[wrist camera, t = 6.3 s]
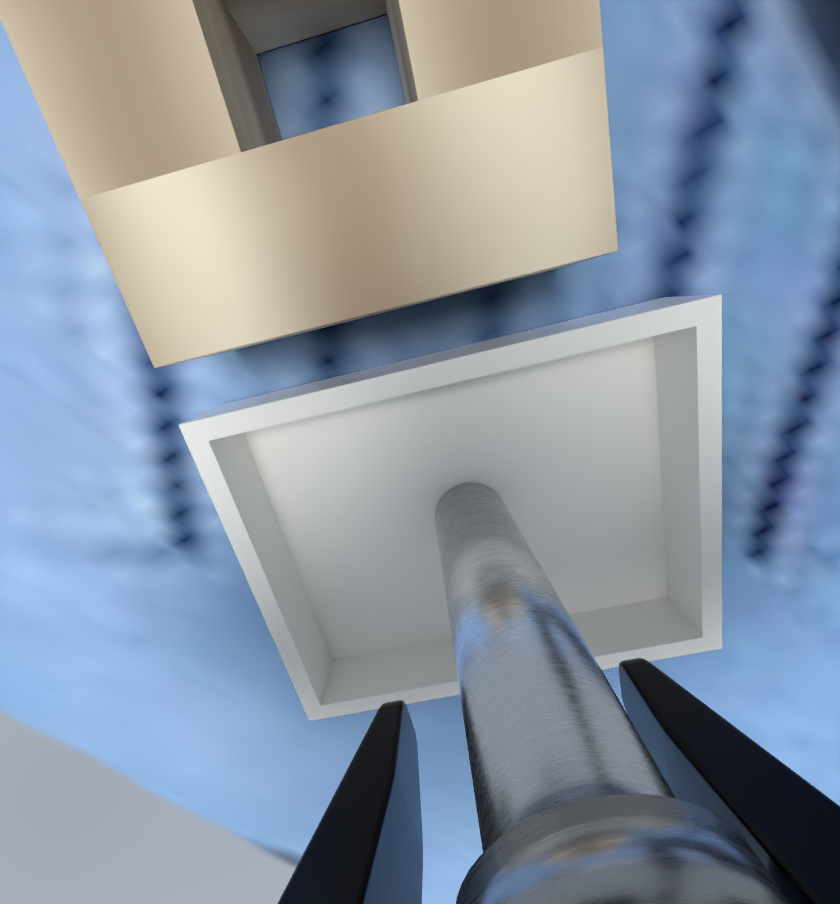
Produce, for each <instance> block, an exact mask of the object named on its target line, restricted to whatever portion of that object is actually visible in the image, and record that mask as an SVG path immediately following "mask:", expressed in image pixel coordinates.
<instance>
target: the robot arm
mask: <svg viewBox="0 0 840 904" xmlns="http://www.w3.org/2000/svg"><path fill="white" fill-rule="evenodd" d="M619 675H620V684H621V694H622V699H623V703H624V706H625V709H626V711H627V714H628V716H629V718H630V720H631V722H632V723H633V725H634V727H635V729H636V730H637V732H638V734H639V735H640V737H641V739H642V741H643V742H644V744H645V746H646V747H647V749H648V751H649V753H650V754H651V756H652V758H653V759H654V761H655V763H656V765H657V766H658V768H659V770H660V771H661V773H662V775H663V777H664V778H665V780H666V782H667V783H668V785H669V787H670V789H671V790H672V792H673V794H674V795H675V797H676V799H680V800H684V801H687V802H691V803H694V804H696V805H699V806H701V807H704V808H706V809H709V810H711V811H712V812H714V813H716V814H717V815H719V816H721V817H723V818H724V819H726V820H727V821H728V822H729V823H730V824H732V825H733V826H734V827H735V828H737V830H738V831H739V832H740V833H741V834H742V835H743V836H744V838H745V839H746V840H747V841H748V843H749V844H750V846H751V847H752V849H753V850H754V852H755V853H756V855H757V856H758V858H759V859H760V861H761V862H762V864H763V865H764V866H765V868H766V869H767V871H768V872H769V874H770V875H771V877H772V878H773V880H774V881H775V883H776V884H777V886H778V887H779V889H780V890H781V892H782V893H783V895H784V896H785V898H786V899H787V901H788V902H789V904H840V806H839V805H837V804H836V803H835V802H833V801H832V800H831V799H830V798H828V797H827V796H826V795H824V794H823V793H822V792H820V791H819V790H818V789H816V788H815V787H814V786H812V785H811V784H810V783H808V782H807V781H806V780H804V779H803V778H802V777H800V776H799V775H798V774H796V773H795V772H794V771H792V770H791V769H790V768H789V767H787V766H786V765H785V764H783V763H782V762H781V761H779V760H778V759H777V758H775V757H774V756H773V755H771V754H770V753H769V752H767V751H766V750H765V749H763V748H762V747H761V746H759V745H758V744H757V743H755V742H754V741H753V740H752V739H750V738H749V737H748V736H746V735H745V734H744V733H742V732H741V731H740V730H738V729H737V728H736V727H734V726H733V725H732V724H730V723H729V722H728V721H726V720H725V719H724V718H722V717H721V716H720V715H718V714H717V713H716V712H714V711H713V710H712V709H711V708H709V707H708V706H707V705H705V704H704V703H703V702H701V701H700V700H699V699H697V698H696V697H695V696H693V695H692V694H691V693H689V692H688V691H687V690H685V689H684V688H683V687H681V686H680V685H679V684H677V683H676V682H675V681H673V680H672V679H671V678H670V677H668V676H667V675H666V674H664V673H663V672H662V671H660V670H659V669H658V668H656V667H655V666H654V665H652V664H651V663H650V662H648V661H647V660H645V659H643V658H635V659H629V660H624V661H621V662H620V663H619ZM422 873H423V842H422V820H421V803H420V786H419V770H418V753H417V740H416V734H415V730H414V727H413V724H412V721H411V718H410V715H409V712H408V709H407V706H406V704H405V702H404V701H402V700H397V701H392V702H386V703H383V704H382V705H381V706H380V708H379V710H378V712H377V714H376V716H375V717H374V719H373V721H372V723H371V725H370V727H369V729H368V731H367V733H366V735H365V737H364V739H363V741H362V742H361V744H360V746H359V748H358V750H357V752H356V754H355V756H354V758H353V760H352V762H351V764H350V766H349V767H348V769H347V771H346V773H345V775H344V777H343V779H342V781H341V783H340V785H339V787H338V789H337V791H336V792H335V794H334V796H333V798H332V800H331V802H330V804H329V806H328V808H327V810H326V812H325V814H324V815H323V817H322V819H321V821H320V823H319V825H318V827H317V829H316V831H315V833H314V835H313V837H312V839H311V840H310V842H309V844H308V846H307V848H306V850H305V852H304V854H303V856H302V858H301V860H300V862H299V864H298V865H297V867H296V869H295V871H294V873H293V875H292V877H291V879H290V881H289V883H288V885H287V887H286V889H285V890H284V892H283V894H282V896H281V898H280V900H279V902H278V904H422Z"/></svg>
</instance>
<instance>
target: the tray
mask: <svg viewBox="0 0 840 904" xmlns="http://www.w3.org/2000/svg"><path fill="white" fill-rule="evenodd" d="M179 427H180V429H181V432H182V434H183V436H184V438H185V441H186V443H187V445H188V447H189V450H190V452H191V454H192V456H193V459H194V461H195V463H196V466H197V468H198V470H199V472H200V475H201V477H202V479H203V481H204V484H205V486H206V488H207V490H208V493H209V495H210V497H211V500H212V502H213V504H214V506H215V509H216V511H217V513H218V515H219V518H220V520H221V522H222V524H223V527H224V529H225V531H226V533H227V536H228V538H229V540H230V543H231V545H232V547H233V549H234V552H235V554H236V556H237V558H238V561H239V563H240V565H241V567H242V570H243V572H244V574H245V577H246V579H247V581H248V583H249V586H250V588H251V590H252V592H253V595H254V597H255V599H256V601H257V604H258V606H259V608H260V610H261V613H262V615H263V617H264V620H265V622H266V624H267V626H268V629H269V631H270V633H271V635H272V638H273V640H274V642H275V644H276V647H277V649H278V651H279V653H280V656H281V658H282V660H283V663H284V665H285V667H286V669H287V672H288V674H289V676H290V678H291V681H292V683H293V685H294V687H295V690H296V692H297V694H298V697H299V699H300V701H301V703H302V706H303V708H304V710H305V712H306V715H307V717H308V719H309V721H313V720H319V719H325V718H330V717H336V716H342V715H347V714H353V713H359V712H364V711H370V710H376V709H379V708H380V706H381V705H382V704H383V703H386V702H392V701H397V700H402V701H404V702H405V704H410V703H416V702H421V701H427V700H433V699H438V698H444V697H450V696H456V695H460V690H459V683H458V676H457V669H456V662H455V655H454V648H453V642H452V635H451V628H450V621H449V614H448V607H447V600H446V593H445V587H444V580H443V573H442V566H441V559H440V552H439V545H438V538H437V532H436V525H435V510H436V506H437V504H438V502H439V500H440V498H441V497H442V496H443V495H444V494H445V493H446V492H447V491H448V490H449V489H451V488H452V487H454V486H456V485H459V484H462V483H468V482H475V483H481V484H484V485H487V486H489V487H490V488H492V489H493V490H495V491H496V492H497V493H498V495H499V496H500V497H501V499H502V500H503V502H504V504H505V506H506V507H507V509H508V511H509V512H510V514H511V516H512V518H513V519H514V521H515V523H516V524H517V526H518V528H519V530H520V531H521V533H522V535H523V536H524V538H525V540H526V542H527V543H528V545H529V547H530V548H531V550H532V552H533V554H534V555H535V557H536V559H537V560H538V562H539V564H540V566H541V567H542V569H543V571H544V573H545V574H546V576H547V578H548V579H549V581H550V583H551V585H552V586H553V588H554V590H555V591H556V593H557V595H558V597H559V598H560V600H561V602H562V603H563V605H564V607H565V609H566V610H567V612H568V614H569V615H570V617H571V619H572V621H573V622H574V624H575V626H576V627H577V629H578V631H579V633H580V634H581V636H582V638H583V639H584V641H585V643H586V645H587V646H588V648H589V650H590V651H591V653H592V655H593V657H594V658H595V660H596V662H597V663H598V665H599V667H600V669H601V670H604V669H609V668H615V667H619V663H620V662H621V661H624V660H629V659H635V658H643V659H645V660H647V661H648V662H649V661H655V660H661V659H666V658H672V657H678V656H683V655H689V654H695V653H700V652H706V651H712V650H717V649H722V294H718V295H698V296H678V297H663V298H658V299H654V300H650V301H646V302H642V303H638V304H634V305H630V306H625V307H621V308H617V309H613V310H609V311H605V312H601V313H597V314H592V315H588V316H584V317H580V318H576V319H572V320H568V321H564V322H559V323H555V324H551V325H547V326H543V327H539V328H535V329H531V330H526V331H522V332H518V333H514V334H510V335H506V336H502V337H498V338H493V339H489V340H485V341H481V342H477V343H473V344H469V345H465V346H460V347H456V348H452V349H448V350H444V351H440V352H436V353H432V354H427V355H423V356H419V357H415V358H411V359H407V360H403V361H398V362H394V363H390V364H386V365H382V366H378V367H374V368H370V369H365V370H361V371H357V372H353V373H349V374H345V375H341V376H337V377H332V378H328V379H324V380H320V381H316V382H312V383H308V384H304V385H299V386H295V387H291V388H287V389H283V390H279V391H275V392H271V393H266V394H262V395H258V396H254V397H250V398H246V399H242V400H238V401H233V402H229V403H225V404H221V405H219V406H217V407H215V408H213V409H211V410H209V411H207V412H204V413H202V414H200V415H198V416H196V417H194V418H192V419H190V420H188V421H186V422H183V423H181V424H179Z"/></svg>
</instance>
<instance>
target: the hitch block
mask: <svg viewBox="0 0 840 904" xmlns="http://www.w3.org/2000/svg"><path fill="white" fill-rule="evenodd" d="M384 14H387V15H388V20H389V25H390V30H391V35H392V40H393V44H394V49H395V54H396V59H397V64H398V69H399V74H400V79H401V84H402V89H403V93H404V98H405V103H406V104H405V105H402V106H398V107H395V108H392V109H388V110H385V111H381V112H378V113H374V114H371V115H368V116H364V117H361V118H357V119H354V120H350V121H347V122H344V123H340V124H337V125H333V126H330V127H326V128H323V129H320V130H316V131H313V132H309V133H306V134H302V135H299V136H296V137H292V138H289V139H285V140H281V136H280V133H279V129H278V126H277V123H276V119H275V116H274V112H273V109H272V105H271V102H270V98H269V95H268V92H267V88H266V85H265V81H264V78H263V74H262V71H261V68H260V64H259V61H258V57H257V54H259V53H262V52H265V51H268V50H271V49H275V48H278V47H281V46H284V45H288V44H291V43H294V42H297V41H300V40H304V39H307V38H310V37H313V36H317V35H320V34H323V33H326V32H329V31H333V30H336V29H339V28H342V27H346V26H349V25H352V24H355V23H358V22H362V21H365V20H368V19H371V18H375V17H378V16H381V15H384ZM0 19H1V21H2V24H3V26H4V28H5V30H6V33H7V35H8V37H9V39H10V42H11V44H12V46H13V48H14V51H15V53H16V55H17V58H18V60H19V62H20V64H21V67H22V69H23V71H24V73H25V76H26V78H27V80H28V82H29V85H30V87H31V89H32V92H33V94H34V96H35V98H36V101H37V103H38V105H39V107H40V110H41V112H42V114H43V117H44V119H45V121H46V123H47V126H48V128H49V130H50V132H51V135H52V137H53V139H54V141H55V144H56V146H57V148H58V151H59V153H60V155H61V157H62V160H63V162H64V164H65V166H66V169H67V171H68V173H69V175H70V178H71V180H72V182H73V185H74V187H75V189H76V191H77V194H78V196H79V198H80V200H81V203H82V205H83V207H84V209H85V212H86V214H87V216H88V219H89V221H90V223H91V225H92V228H93V230H94V232H95V234H96V237H97V239H98V241H99V244H100V246H101V248H102V250H103V253H104V255H105V257H106V259H107V262H108V264H109V266H110V268H111V271H112V273H113V275H114V278H115V280H116V282H117V284H118V287H119V289H120V291H121V293H122V296H123V298H124V300H125V302H126V305H127V307H128V309H129V312H130V314H131V316H132V318H133V321H134V323H135V325H136V327H137V330H138V332H139V334H140V337H141V339H142V341H143V343H144V346H145V348H146V350H147V352H148V355H149V357H150V359H151V361H152V364H153V366H154V368H157V367H161V366H166V365H170V364H175V363H179V362H184V361H188V360H193V359H197V358H202V357H207V356H211V355H216V354H220V353H225V352H229V351H234V350H238V349H242V348H246V347H250V346H254V345H257V344H261V343H265V342H269V341H273V340H277V339H281V338H285V337H289V336H293V335H297V334H301V333H305V332H309V331H313V330H317V329H321V328H325V327H329V326H333V325H337V324H341V323H345V322H349V321H353V320H356V319H360V318H364V317H368V316H372V315H376V314H380V313H384V312H388V311H392V310H396V309H400V308H404V307H408V306H412V305H416V304H420V303H424V302H428V301H432V300H436V299H440V298H444V297H448V296H452V295H455V294H459V293H463V292H467V291H471V290H475V289H479V288H483V287H487V286H491V285H495V284H499V283H503V282H507V281H511V280H515V279H519V278H523V277H527V276H531V275H535V274H539V273H543V272H547V271H551V270H554V269H558V268H561V267H565V266H568V265H572V264H575V263H578V262H582V261H585V260H588V259H592V258H595V257H598V256H602V255H605V254H609V253H612V252H615V251H618V242H617V228H616V215H615V201H614V188H613V175H612V161H611V148H610V134H609V121H608V108H607V94H606V81H605V67H604V54H603V41H602V27H601V14H600V0H0Z"/></svg>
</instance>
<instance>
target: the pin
mask: <svg viewBox="0 0 840 904" xmlns="http://www.w3.org/2000/svg"><path fill="white" fill-rule="evenodd" d="M435 525H436V532H437V538H438V545H439V552H440V559H441V566H442V573H443V580H444V587H445V593H446V600H447V607H448V614H449V621H450V628H451V635H452V642H453V648H454V655H455V662H456V669H457V676H458V683H459V690H460V697H461V703H462V710H463V717H464V724H465V731H466V738H467V745H468V751H469V758H470V765H471V772H472V779H473V786H474V793H475V800H476V806H477V813H478V820H479V827H480V834H481V841H482V848H483V854H482V855H481V856H480V857H479V858H478V859H477V861H476V862H475V863H474V865H473V866H472V867H471V868H470V870H469V872H468V873H467V875H466V877H465V879H464V881H463V882H462V885H461V888H460V890H459V893H458V896H457V901H456V904H789V902H788V901H787V899H786V898H785V896H784V895H783V893H782V892H781V890H780V889H779V887H778V886H777V884H776V883H775V881H774V880H773V878H772V877H771V875H770V874H769V872H768V871H767V869H766V868H765V866H764V865H763V864H762V862H761V861H760V859H759V858H758V856H757V855H756V853H755V852H754V850H753V849H752V847H751V846H750V844H749V843H748V841H747V840H746V839H745V838H744V836H743V835H742V834H741V833H740V832H739V831H738V830H737V828H735V827H734V826H733V825H732V824H730V823H729V822H728V821H727V820H726V819H724V818H723V817H721V816H719V815H717V814H716V813H714V812H712V811H711V810H709V809H706V808H704V807H701V806H699V805H696V804H694V803H691V802H687V801H684V800H680V799H676V797H675V795H674V794H673V792H672V790H671V789H670V787H669V785H668V783H667V782H666V780H665V778H664V777H663V775H662V773H661V771H660V770H659V768H658V766H657V765H656V763H655V761H654V759H653V758H652V756H651V754H650V753H649V751H648V749H647V747H646V746H645V744H644V742H643V741H642V739H641V737H640V735H639V734H638V732H637V730H636V729H635V727H634V725H633V723H632V722H631V720H630V718H629V717H628V715H627V713H626V711H625V710H624V708H623V706H622V705H621V703H620V701H619V699H618V698H617V696H616V694H615V693H614V691H613V689H612V687H611V686H610V684H609V682H608V681H607V679H606V677H605V675H604V674H603V672H602V670H601V669H600V667H599V665H598V663H597V662H596V660H595V658H594V657H593V655H592V653H591V651H590V650H589V648H588V646H587V645H586V643H585V641H584V639H583V638H582V636H581V634H580V633H579V631H578V629H577V627H576V626H575V624H574V622H573V621H572V619H571V617H570V615H569V614H568V612H567V610H566V609H565V607H564V605H563V603H562V602H561V600H560V598H559V597H558V595H557V593H556V591H555V590H554V588H553V586H552V585H551V583H550V581H549V579H548V578H547V576H546V574H545V573H544V571H543V569H542V567H541V566H540V564H539V562H538V560H537V559H536V557H535V555H534V554H533V552H532V550H531V548H530V547H529V545H528V543H527V542H526V540H525V538H524V536H523V535H522V533H521V531H520V530H519V528H518V526H517V524H516V523H515V521H514V519H513V518H512V516H511V514H510V512H509V511H508V509H507V507H506V506H505V504H504V502H503V500H502V499H501V497H500V496H499V495H498V493H497V492H496V491H495V490H493V489H492V488H490V487H489V486H487V485H484V484H481V483H475V482H468V483H462V484H459V485H456V486H454V487H452V488H451V489H449V490H448V491H447V492H446V493H445V494H444V495H443V496H442V497H441V498H440V500H439V502H438V504H437V506H436V510H435Z"/></svg>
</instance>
